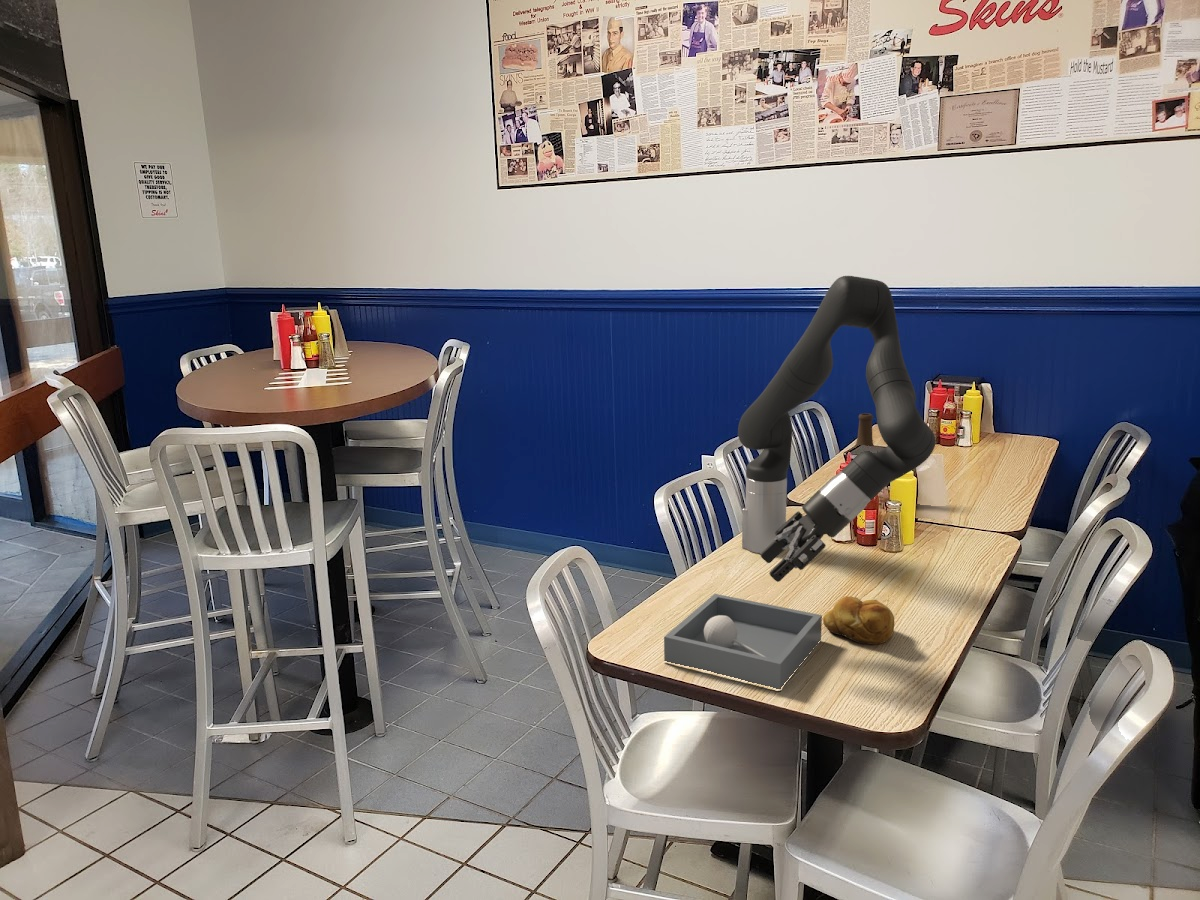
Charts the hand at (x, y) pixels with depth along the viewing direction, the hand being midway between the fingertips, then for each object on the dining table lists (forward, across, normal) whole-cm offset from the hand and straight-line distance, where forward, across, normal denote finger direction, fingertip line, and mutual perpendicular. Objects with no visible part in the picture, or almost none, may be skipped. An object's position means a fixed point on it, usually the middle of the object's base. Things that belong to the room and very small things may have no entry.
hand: (768, 568), depth 156 cm
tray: (+14, +1, +8) cm, 16 cm away
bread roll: (-2, -5, +24) cm, 24 cm away
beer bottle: (-18, -84, +40) cm, 95 cm away
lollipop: (+10, +9, +10) cm, 17 cm away
